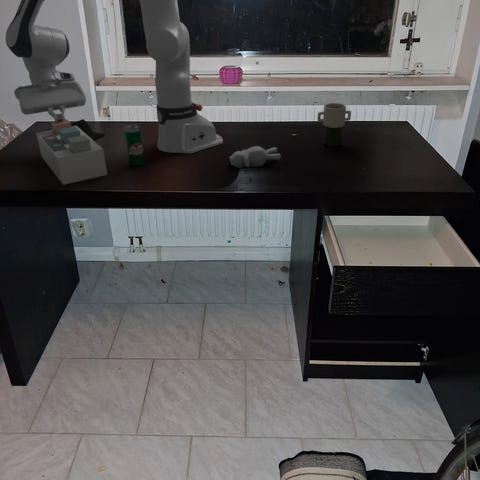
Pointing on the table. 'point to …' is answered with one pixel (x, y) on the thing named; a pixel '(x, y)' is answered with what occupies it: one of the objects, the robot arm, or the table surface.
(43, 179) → the table surface
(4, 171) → the table surface
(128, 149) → the soda can
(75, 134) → the teal key
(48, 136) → the keypad
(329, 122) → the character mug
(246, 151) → the bunny figurine
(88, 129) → the handheld gaming console
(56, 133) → the terracotta key
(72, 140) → the sage green key
